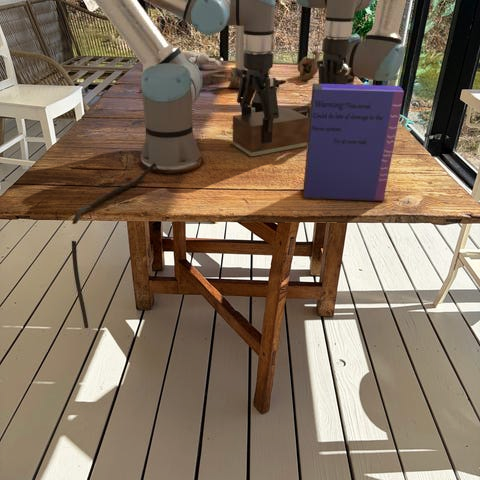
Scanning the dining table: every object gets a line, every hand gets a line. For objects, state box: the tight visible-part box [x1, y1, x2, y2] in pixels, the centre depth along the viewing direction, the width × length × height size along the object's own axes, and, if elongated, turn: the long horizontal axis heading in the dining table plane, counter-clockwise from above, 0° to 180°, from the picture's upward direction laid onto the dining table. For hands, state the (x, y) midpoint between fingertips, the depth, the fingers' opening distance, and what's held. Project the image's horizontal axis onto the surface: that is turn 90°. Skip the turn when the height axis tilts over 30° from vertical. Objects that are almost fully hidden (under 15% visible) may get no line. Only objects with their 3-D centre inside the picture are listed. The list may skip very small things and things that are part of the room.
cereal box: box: [302, 83, 405, 202], centre depth 102 cm, size 17×5×24 cm, turn 86°
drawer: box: [297, 107, 311, 141], centre depth 138 cm, size 23×9×6 cm, turn 119°
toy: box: [181, 50, 222, 69], centre depth 224 cm, size 24×25×7 cm
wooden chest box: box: [232, 107, 309, 157], centre depth 133 cm, size 18×11×8 cm, turn 119°
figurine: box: [209, 66, 287, 89], centre depth 190 cm, size 24×8×30 cm
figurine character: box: [250, 91, 263, 113], centre depth 154 cm, size 7×8×15 cm
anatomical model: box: [297, 50, 321, 82], centre depth 207 cm, size 13×9×15 cm
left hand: (256, 136), depth 132 cm, fingers closed on wooden chest box, 11 cm apart
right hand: (327, 122), depth 142 cm, fingers closed
